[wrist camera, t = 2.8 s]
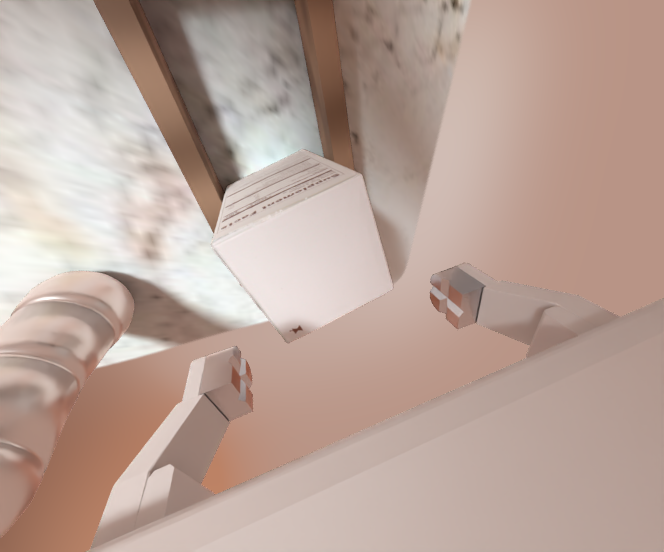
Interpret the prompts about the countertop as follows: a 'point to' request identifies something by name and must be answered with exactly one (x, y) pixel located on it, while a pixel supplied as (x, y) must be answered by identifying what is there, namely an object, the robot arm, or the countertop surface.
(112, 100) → the countertop surface
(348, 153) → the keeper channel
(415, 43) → the countertop surface
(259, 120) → the countertop surface
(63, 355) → the plastic bottle
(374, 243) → the supplement box
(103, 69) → the countertop surface
